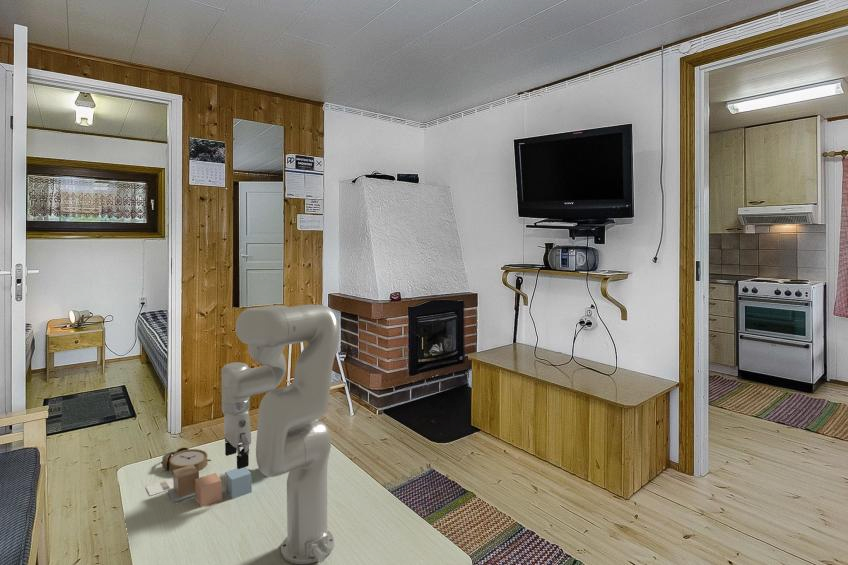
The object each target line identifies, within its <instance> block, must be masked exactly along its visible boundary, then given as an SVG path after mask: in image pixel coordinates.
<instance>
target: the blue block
mask: <svg viewBox="0 0 848 565" xmlns="http://www.w3.org/2000/svg"><path fill="white" fill-rule="evenodd" d="M224 474H225V475H224V476H225V477H224V478H225V491H226V493H227V495H228V496H229V497H230V498H231V500H234V499H237V498H239V497H242V496H245V495H248V494H251V493H252V492H253V489H252V473H251V471H249V470H248V469H247V467H244V468H241V469H237V468H235V469H232V470H228V471H225V472H224Z"/></svg>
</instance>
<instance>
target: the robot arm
mask: <svg viewBox="0 0 848 565" xmlns="http://www.w3.org/2000/svg"><path fill="white" fill-rule="evenodd" d="M235 333H236V336H237V338H238V339H239V341H240V342H241V343H243V344H245V345H248V346H247V352H248V354H249V356H250V357H251V359H252V360H253V361H255V362H256V363H258V364H261V365H262V366H260V365H259V366H255V367H251V368H250V367H249V365H248V364H247V363H245V362H231V363H227V364H224V366H222V368H221V372H220V373H221V376H220V377H221V412H222V414H223V434H224V442H225V444H224V449H225V453H224V454H225V456H226V457H227V456H232V455H234V454H237V455H236V469H241V468H244V467H246V468H247V467H248V466H249V462H250V461H249V460H250V458H249V455H250V445H251V444H252V430H251V429H252V428H251V427H252V426H251V419H250V418H251V417H250V413H249V411H250V409H251V408H250V406H251V405H250V402H251V401H250V400H251V398H250V397H253V396H256V395H261V394H264V393H266V394H265V395H264V396H263V397H262V399H261V401H260V403H259V407H258V415H257V427H256V428H257V429H256V444H255V446H256V447H255V458H256V465H257V467H258V469H259V471H260V473H261V474H262V475H264V476H265V477H269V478H275V477H278V476H281V475H284V474H287V479H286V518H287V519H286V523H287V524H286V526H287V529H286V530H287V535H286V537H285V538H284V539H283V541H282V543H281V545H280V553H281V555H282V557H283V559H285V561H286V562H289V563H291V564H295V565H309V564H314V563H316V562H318V563H320V564H321V563H323V562H324V561H325V559H326V557H328V555H329V554H330V553H331V552H332V550H334V549H333V548H334V547H335V546H334V545H335V538H334V536H333V534H332V533H331V532H330V531H329V530H328V467H329V466H328V465H329V458H330V454H331V453H330V452H331V447H332V435H331V431H330V429H329V427H328V426H327V425H326V424H325V422H322V421H321V420H320V419H321V418H323V417H324V416H325V415H326V414H327V412H328V409H329V404H330V395H331V387H332V386H331V385H332V376H333V374H332V373H333V366H334V362H335V359H336V358H335V357H336V355H337V350H338V347H339V342H340V325H339V322H338V318H337V317H336V315H335V313H334V311H333V310H332V309H330V308H329V307H328V306H326V305H323V304H302V305H294V306H286V305H281V304H276V305H267V306H259V307H258V306H257V307H249V308H246V309H244V310H242V312H240V313H239V315H238V317H237V319H236V322H235ZM305 342H307V344H306V345H305V347H303V349H302V351H301V352H300V353H299V356H298V358H297V360H296V361H295V365H294V374H293V375H294V376H293V379H292V382H291V384H289V385H286V386H283V387H279V386H280V384H281V383H282V380H283V379H284V376H285V374H286V371H287V362H286V358H285V355H284V353H283V352H284V350H285V348H286V346H287V345H294V344H300V343H305ZM277 387H278V388H277Z"/></svg>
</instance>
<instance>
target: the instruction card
mask: <svg viewBox="0 0 848 565" xmlns="http://www.w3.org/2000/svg"><path fill="white" fill-rule="evenodd" d="M145 488H146V491H147V493H148V495H149V497H152V496H155V495H157V494H162V493H164V492H168V489H171V488H174V486H173V478H171V479H168V480H164V481H161V482H158V483H154V484H151V485H148V486H145Z"/></svg>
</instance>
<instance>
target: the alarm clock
mask: <svg viewBox="0 0 848 565" xmlns="http://www.w3.org/2000/svg"><path fill="white" fill-rule="evenodd" d="M161 459H162V460H161V462H160V464H161V466H162V469H164V470H165V471H169V472H170V473H171V474H173V470H176V469H180V468H183V467H186V466H190V465H194V466H195V467H196V469H197V470H198V471H199V472H200V471H202V470H204V468H206V467H207V465H208V462H212V459H209V458H208V453H207V452H206V451H205V450H202V449H200V448H199V449H198V448H193V449H192V448H191V449H190V448H188V447H186V446H185V447H184V446H183V447H179V448H178V449H177V450H176V451H171V452H167V453H166V454H164V455H163V456H162V457H161ZM168 468H169V470H168Z"/></svg>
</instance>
